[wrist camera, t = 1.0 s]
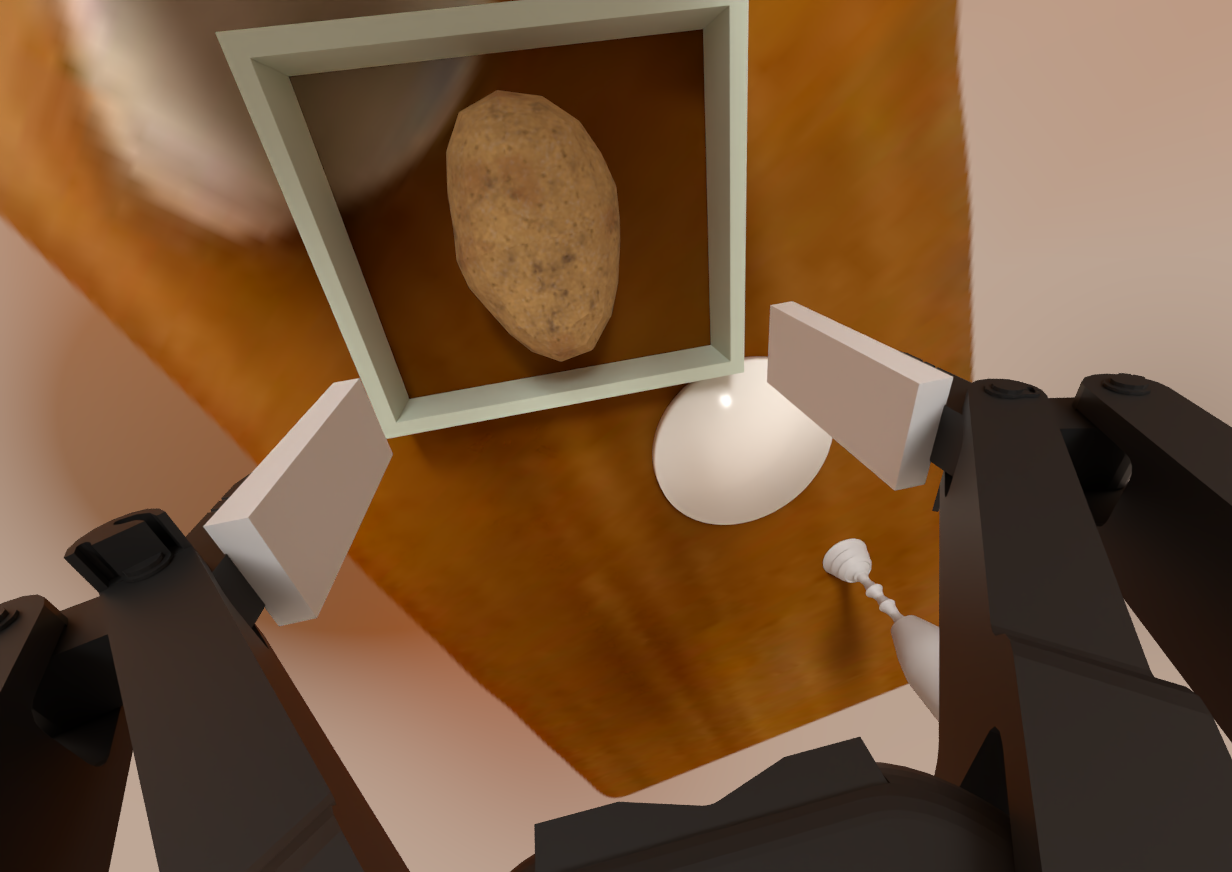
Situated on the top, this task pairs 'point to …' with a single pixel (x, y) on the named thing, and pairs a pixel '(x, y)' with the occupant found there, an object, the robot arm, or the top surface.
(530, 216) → the potato
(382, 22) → the crate
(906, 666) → the chalice
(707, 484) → the plate
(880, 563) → the top surface
